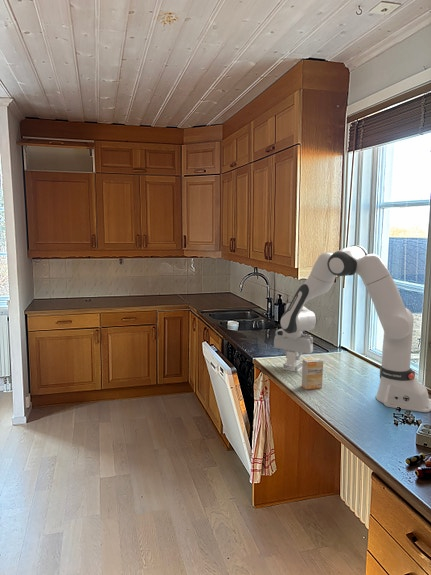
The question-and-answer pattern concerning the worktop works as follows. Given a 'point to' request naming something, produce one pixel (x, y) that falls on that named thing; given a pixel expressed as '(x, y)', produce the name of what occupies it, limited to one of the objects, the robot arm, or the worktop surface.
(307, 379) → the supplement box
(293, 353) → the block
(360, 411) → the worktop surface
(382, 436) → the worktop surface
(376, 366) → the worktop surface
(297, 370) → the rail plate
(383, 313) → the robot arm
